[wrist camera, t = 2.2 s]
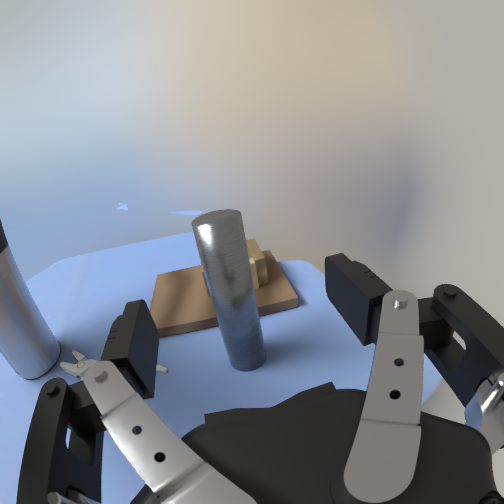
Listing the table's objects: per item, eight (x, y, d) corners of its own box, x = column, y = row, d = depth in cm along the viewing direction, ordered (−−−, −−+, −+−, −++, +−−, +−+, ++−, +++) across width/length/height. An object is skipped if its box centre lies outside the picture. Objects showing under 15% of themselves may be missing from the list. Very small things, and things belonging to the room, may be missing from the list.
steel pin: (232, 374, 27) (191, 232, 20) (227, 349, 30) (192, 216, 23) (269, 365, 27) (244, 220, 20) (261, 341, 31) (237, 206, 24)
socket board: (150, 339, 33) (134, 306, 31) (159, 282, 47) (150, 254, 44) (298, 306, 35) (295, 270, 33) (270, 257, 49) (266, 228, 46)
